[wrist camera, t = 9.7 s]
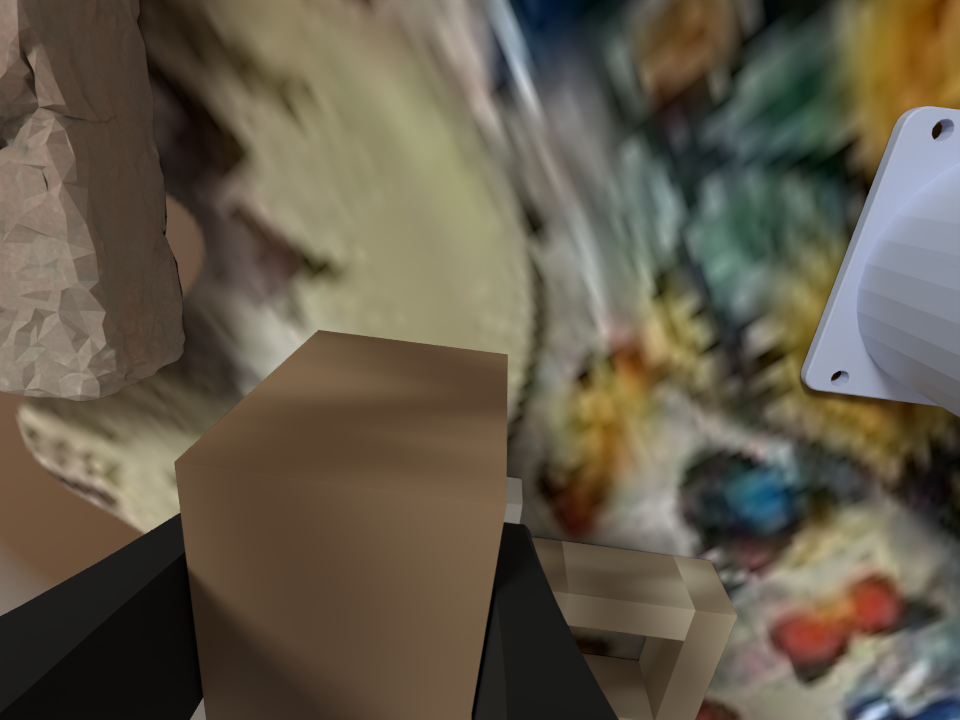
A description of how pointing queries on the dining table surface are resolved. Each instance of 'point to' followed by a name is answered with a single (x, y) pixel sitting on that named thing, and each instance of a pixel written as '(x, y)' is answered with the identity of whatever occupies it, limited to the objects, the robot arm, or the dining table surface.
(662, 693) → the socket block
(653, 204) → the dining table surface
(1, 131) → the brick
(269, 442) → the brown rectangular block
